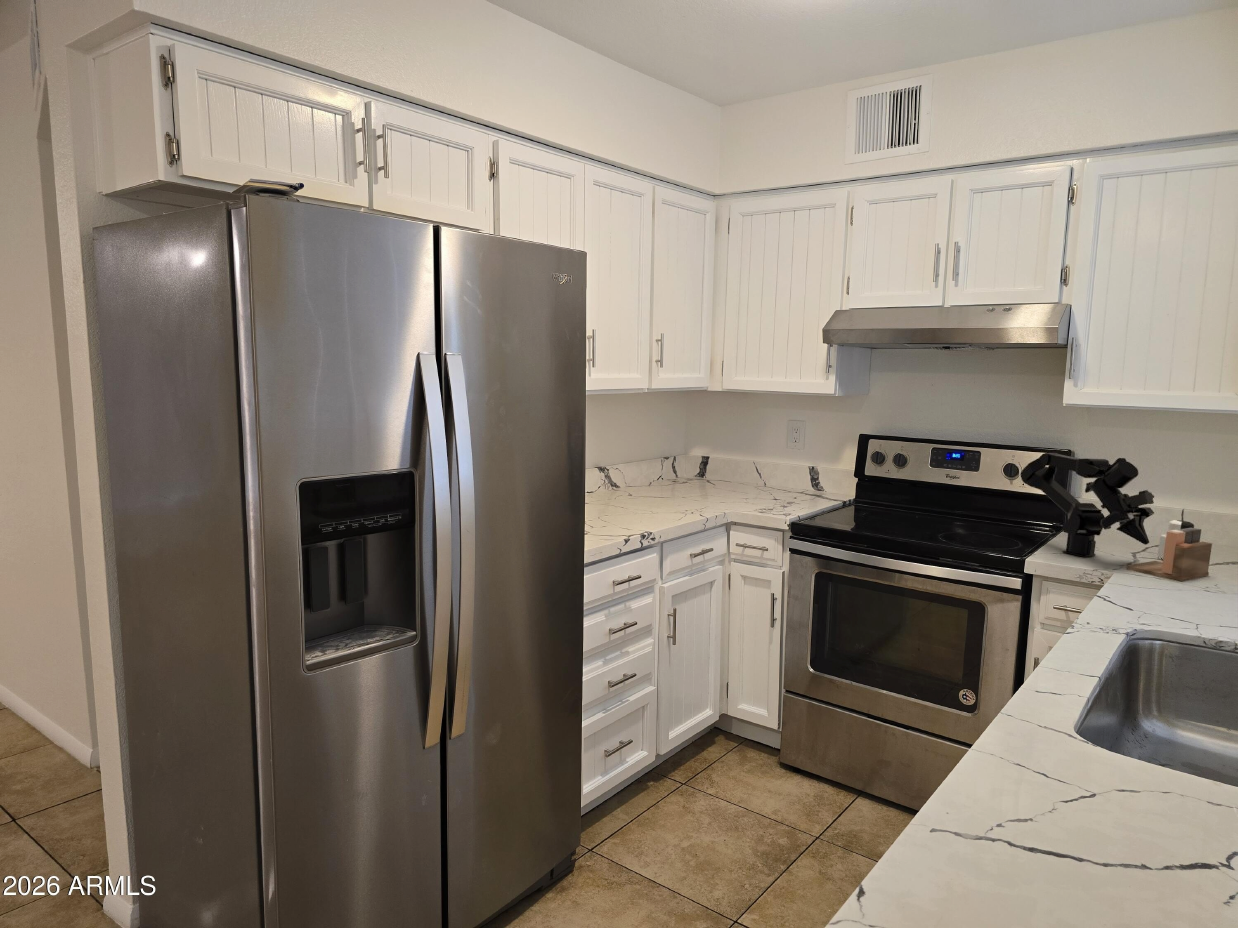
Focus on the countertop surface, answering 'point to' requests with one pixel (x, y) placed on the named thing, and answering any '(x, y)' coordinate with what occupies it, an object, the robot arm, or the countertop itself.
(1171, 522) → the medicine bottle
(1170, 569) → the orange rectangular block
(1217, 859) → the countertop surface
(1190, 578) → the brown wooden book holder
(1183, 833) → the countertop surface
